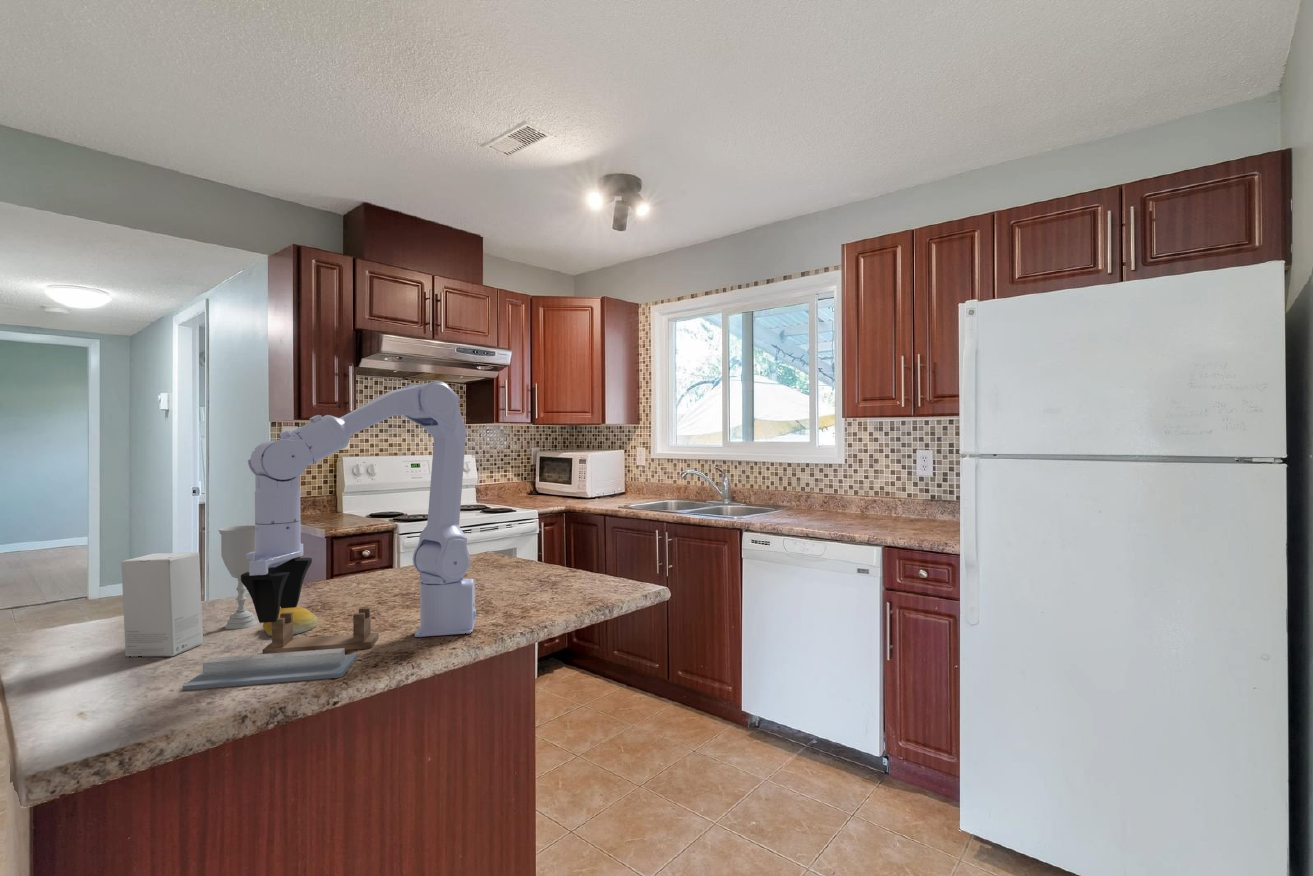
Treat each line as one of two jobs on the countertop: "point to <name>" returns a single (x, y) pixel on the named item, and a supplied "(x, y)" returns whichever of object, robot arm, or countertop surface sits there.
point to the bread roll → (296, 620)
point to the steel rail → (273, 662)
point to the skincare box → (162, 604)
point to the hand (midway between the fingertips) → (279, 614)
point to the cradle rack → (287, 643)
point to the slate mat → (270, 676)
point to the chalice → (238, 568)
